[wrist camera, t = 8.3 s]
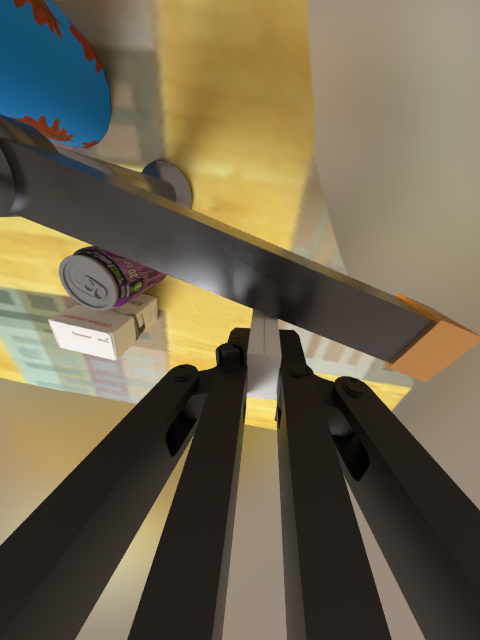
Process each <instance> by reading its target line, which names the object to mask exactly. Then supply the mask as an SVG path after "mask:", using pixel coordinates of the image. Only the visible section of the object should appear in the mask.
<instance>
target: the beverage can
mask: <svg viewBox="0 0 480 640" xmlns="http://www.w3.org/2000/svg"><path fill="white" fill-rule="evenodd" d="M59 276H60V280H61V282H62V285H63V286H64V288H65V290H66V291H67V293H68V294H69V295H70V296H71V297H72V298H73V299H74V300H75V301H76V302H78V303H79V304H80V305H82V306H84V307H86V308H88V309H91V310H94V311H105V310H108V309H110V308H117V307H120V306H122V305H124V304H126V303H127V302H129V301H131V300H132V299H134V298H135V297H137V296H138V295H140V294H141V293H143V292H145V291H146V290H148V289H149V288H151V287H152V286H154V285H155V284H157V283H159V282H160V281H162V280H163V279H164V278H165V276H166V274H164V273H162V272H159V271H157V270H154V269H152V268H149V267H147V266H144V265H142V264H139V263H137V262H134V261H132V260H129V259H127V258H124V257H122V256H119V255H117V254H114V253H111V252H109V251H106V250H104V249H101V248H99V247H96V246H90V247H85V248H82V249H79V250H78V251H76V252H75V253H74V254H73V255H72V256H68V257H66V258H65V259H64V260H63V261H62V262H61V264H60V267H59Z"/></svg>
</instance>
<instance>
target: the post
mask: <svg viewBox="0 0 480 640" xmlns="http://www.w3.org/2000/svg"><path fill="white" fill-rule="evenodd" d="M54 147H55V148H56V149H57V151H58V152H59V153H60V154H62V155H65V156H67V157H70V158H72V159H74V160H77V161H79V162H81V163H84V164H86V165H88V166H91V167H93V168H95V169H98V170H100V171H102V172H105V173H107V174H109V175H112V176H114V177H116V178H119V179H121V180H124V181H126V182H128V183H131V184H133V185H135V186H138V187H140V188H142V189H145V190H147V191H149V192H152V193H154V194H156V195H159V196H161V197H163V198H166V199H168V200H170V201H173V202H175V203H178V204H180V205H182V206H185V207H187V208H189V209H191V207H192V191H191V187H190V184H189V182H188V180H187V178H186V176H185V175H184V174H183V172H182V171H181V170H180V169H179V168H177V167H176V166H174V165H172V164H170V163H168V162H165V161H154V162H151V163H150V164H148V165H147V166H146V167H145V168H144V169H143V171H142V173H140V172H137V171H134V170H130V169H127V168H124V167H121V166H118V165H114V164H111V163H108V162H105V161H102V160H98V159H95V158H92V157H89V156H85V155H82V154H79V153H76V152H73V151H69V150H66V149H63V148H60V147H56V146H54Z"/></svg>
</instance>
